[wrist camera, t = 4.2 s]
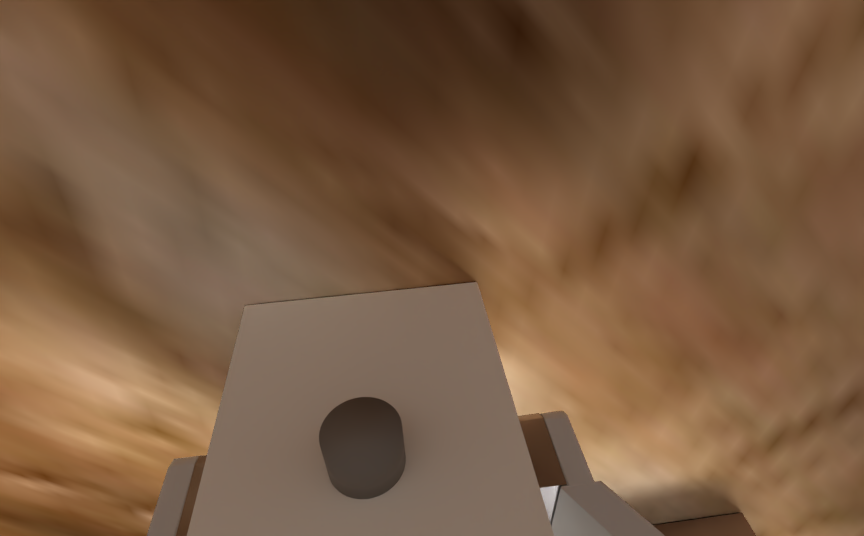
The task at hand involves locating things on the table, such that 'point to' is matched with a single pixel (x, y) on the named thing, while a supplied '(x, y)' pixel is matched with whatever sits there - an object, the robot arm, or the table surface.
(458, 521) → the cabinet block
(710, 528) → the cleat ledge
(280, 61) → the table surface
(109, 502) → the table surface
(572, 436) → the robot arm
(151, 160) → the table surface
